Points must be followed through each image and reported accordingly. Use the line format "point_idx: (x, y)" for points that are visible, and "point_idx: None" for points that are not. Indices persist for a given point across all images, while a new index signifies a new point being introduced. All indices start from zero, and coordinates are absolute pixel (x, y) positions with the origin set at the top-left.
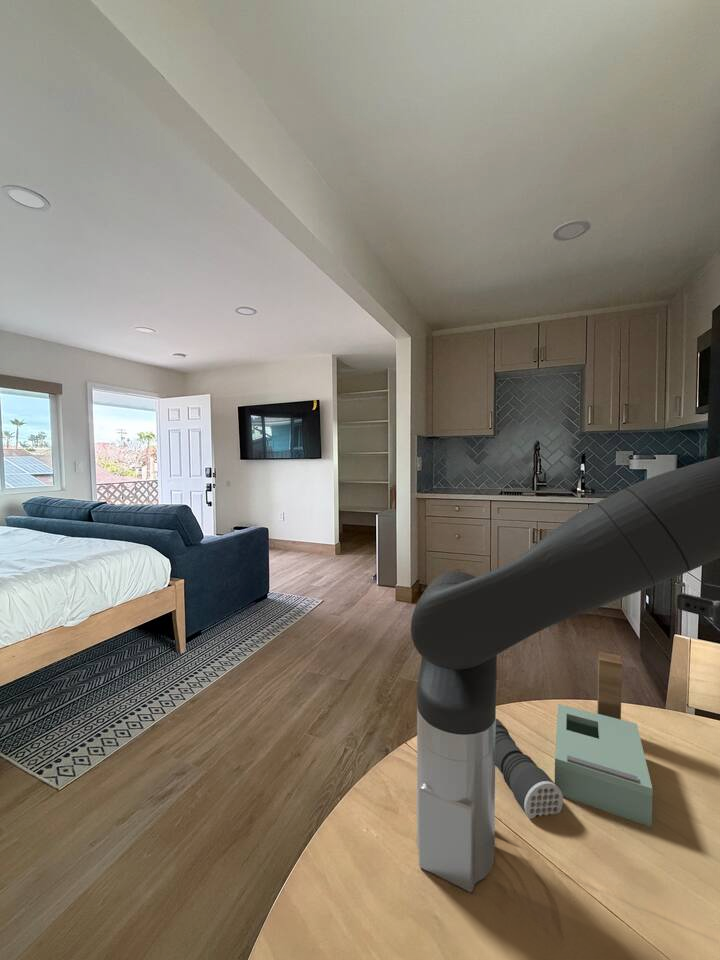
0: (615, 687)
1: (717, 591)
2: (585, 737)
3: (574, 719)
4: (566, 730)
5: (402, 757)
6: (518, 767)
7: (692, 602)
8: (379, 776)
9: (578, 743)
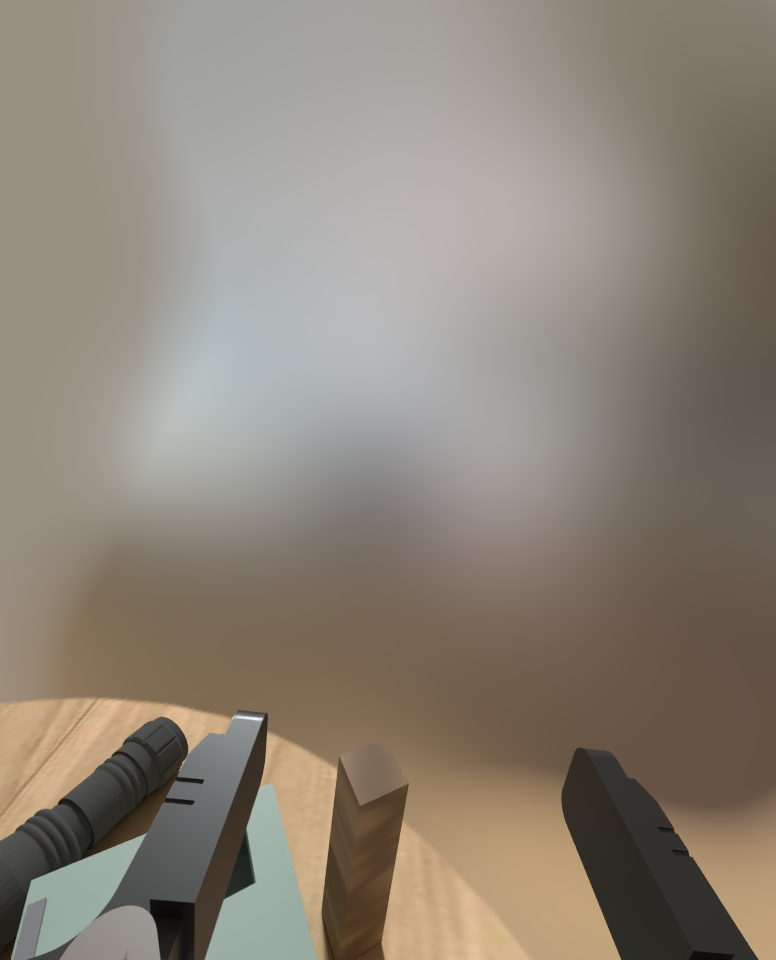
0: (347, 844)
1: (617, 847)
2: None
3: (246, 835)
4: None
5: (67, 701)
6: (10, 837)
7: (166, 798)
8: (7, 705)
9: None
